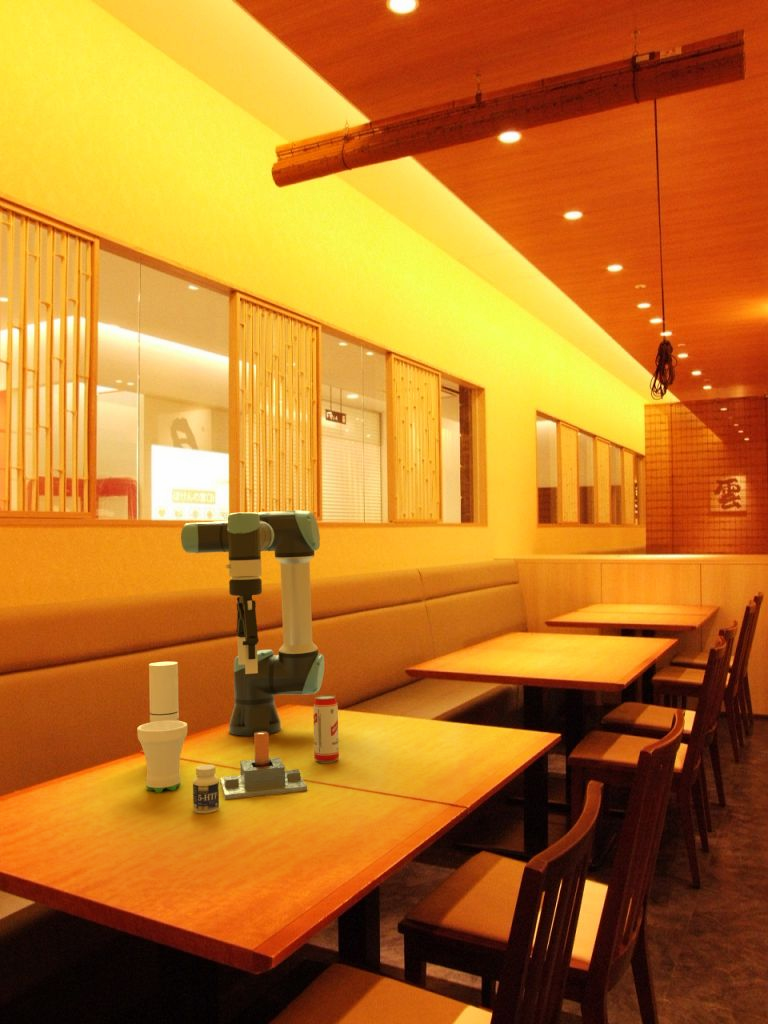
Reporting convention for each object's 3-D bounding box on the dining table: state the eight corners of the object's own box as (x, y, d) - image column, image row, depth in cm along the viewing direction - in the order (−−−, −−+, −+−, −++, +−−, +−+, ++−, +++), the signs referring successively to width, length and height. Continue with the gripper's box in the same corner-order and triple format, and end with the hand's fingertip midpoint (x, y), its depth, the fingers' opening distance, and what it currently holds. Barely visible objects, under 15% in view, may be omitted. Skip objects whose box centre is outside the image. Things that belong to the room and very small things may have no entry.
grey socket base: (220, 781, 194) (219, 760, 194) (296, 774, 199) (296, 753, 199) (225, 799, 181) (224, 776, 181) (307, 790, 186) (306, 767, 186)
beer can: (340, 757, 214) (339, 694, 214) (337, 763, 207) (335, 699, 208) (316, 757, 214) (315, 694, 215) (312, 763, 208) (310, 699, 209)
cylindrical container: (144, 764, 212) (143, 665, 213) (162, 756, 219) (160, 661, 220) (168, 766, 210) (166, 666, 210) (185, 758, 216) (183, 662, 217)
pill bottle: (197, 815, 170) (196, 771, 171) (190, 808, 175) (189, 766, 175) (222, 811, 173) (221, 768, 173) (215, 804, 178) (214, 762, 178)
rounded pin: (254, 785, 191) (253, 732, 191) (268, 783, 192) (267, 731, 192) (256, 789, 188) (255, 735, 188) (270, 787, 189) (269, 734, 189)
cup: (166, 778, 198) (165, 718, 199) (199, 785, 192) (197, 723, 192) (127, 790, 189) (126, 727, 190) (160, 798, 183) (158, 733, 183)
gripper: (223, 576, 207) (226, 661, 206) (235, 581, 183) (237, 678, 182) (254, 574, 209) (256, 659, 208) (269, 580, 185) (272, 676, 185)
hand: (247, 668), depth 195 cm, fingers open, 13 cm apart
